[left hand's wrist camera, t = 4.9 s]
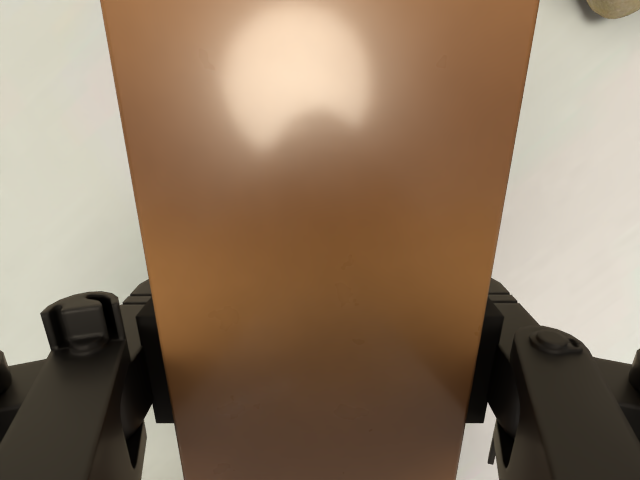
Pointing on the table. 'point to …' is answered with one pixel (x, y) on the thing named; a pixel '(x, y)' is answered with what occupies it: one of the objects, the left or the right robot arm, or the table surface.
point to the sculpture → (614, 7)
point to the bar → (319, 221)
